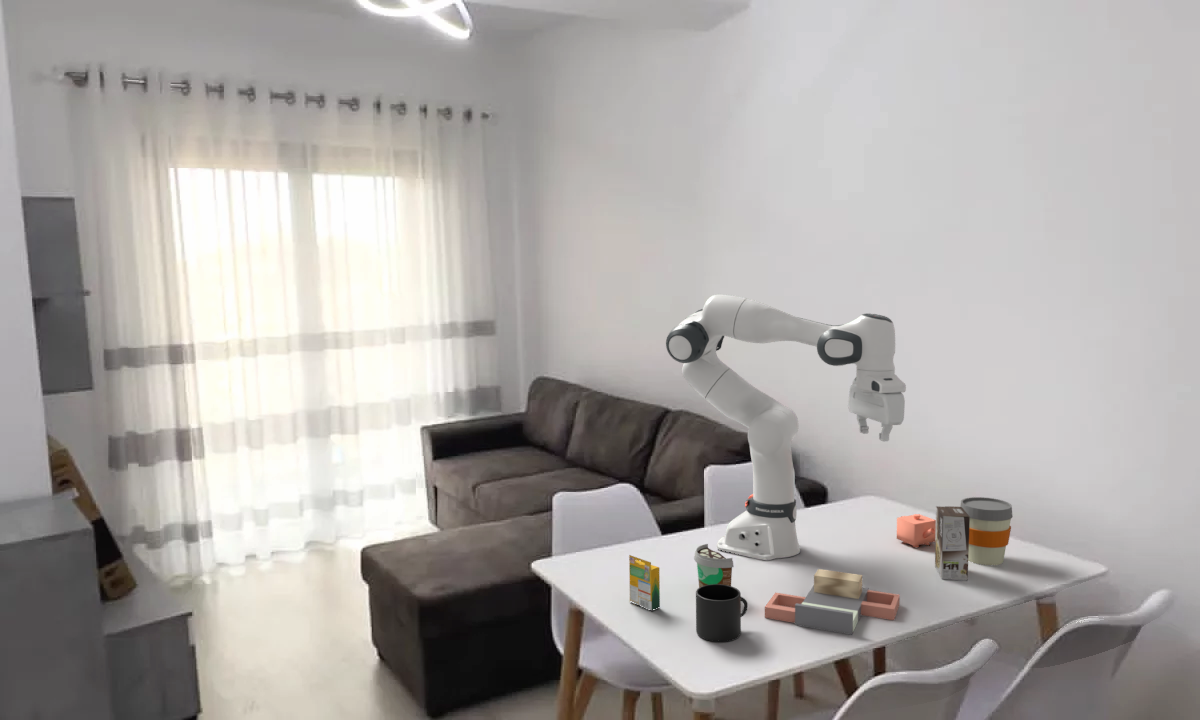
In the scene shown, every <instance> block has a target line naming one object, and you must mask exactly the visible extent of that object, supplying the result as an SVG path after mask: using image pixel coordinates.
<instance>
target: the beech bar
mask: <svg viewBox="0 0 1200 720" xmlns="http://www.w3.org/2000/svg"><path fill="white" fill-rule="evenodd" d="M813 585H814V592H817V593H823V594H830V595H836V596H843V597H849V598H856V599H859V597H860V595H861V593H862V587H863V574H857V573H851V572H850V573H849V572H841V571H835V570H830V569H829V570H828V569H820V568H818V569H817V570H816V572H815V573H814V575H813Z"/></svg>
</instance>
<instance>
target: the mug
mask: <svg viewBox="0 0 1200 720" xmlns="http://www.w3.org/2000/svg"><path fill="white" fill-rule="evenodd" d="M741 603H743V608H741V607H742V606H741V605H742V604H741ZM748 606H749V605H748V601H747V600H746V599H745V598H744V597H743V596H741V591H740V590H739V589H738V588H736V586H735V587H734V586H732V585H731V586H729V585H723V584H710V585H705V586H702V587H700V588H699V587H698V588H697V589H696V590H695V631H696V634H697V636H698V637H700V639H701V638H702V639H703V640H705V641H709V642H715V643H726V642H732V641H734V640H736V639H738V638H739V637H740V636H741V632H742V627H741V626H742V622H741V621H742V620H741V619H742V617H744V616H745V615H746V613H747V612H748V608H749V607H748ZM741 610H742V611H741Z"/></svg>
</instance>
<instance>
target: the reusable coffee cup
mask: <svg viewBox="0 0 1200 720" xmlns="http://www.w3.org/2000/svg"><path fill="white" fill-rule="evenodd" d="M959 505H960V506H959V507H962V508H963V509H964V510H965V512H966V513H967V514H968V515H969V516H970V526H969V554H968V562H970V563H972V562H973V564H975V563H976V565H980V564H981V566H988V565H990V566H991V565H994V566H1000V565H1002V564H1003V563H1004V560H1005V559H1004V558H1005V553H1006V550H1007V549H1006V548H1007V547H1008V545H1009V541H1010V536H1011V532H1012V531H1011V530H1012V526H1011V520H1012V518H1013V505H1012V504H1011V503H1010V502H1008V501H1005V500H1002V499H997V498H994V497H993V498H992V497H982V496H981V497H980V496H975V497H974V496H973V497H967V498H962V499H961V500H960V504H959Z"/></svg>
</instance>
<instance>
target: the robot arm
mask: <svg viewBox="0 0 1200 720" xmlns="http://www.w3.org/2000/svg"><path fill="white" fill-rule="evenodd" d="M725 337H729V338H731V339H735V340H738V341H740V342H741V341H742V342H745V343H750V344H770V343H776V342H785V341H786V342H796V343H801V344H805V345H809V346H811V347H816V350H817V351H816V352H817V355H818V356H819V358H820V359H821V361H823V362H824V363H825V364H826V365H829V366H833V367H843V366H846V365H851V364H852V365H853V364H854V365H855V366H856V371H855V372H856V376H855V378H854V379H853V380H852V384H851V385H850V386H849V392H848V401H847V402H848V403H847V407H848V411H849V412H850V413H852V414H854V415H856V420H857V424H858V429H859V430H858V431H859V433H861V434H864V435H865V434H869V426H868V423H867V419H870V420H872V421H875V422H879V423H881V425H880V427H881V429H882V430H881V432H879V434H878V437H879V438H878V439H879V441H882V442H889V441H890V434H891V432H892V429H893V426H901V425H902V423H903V422H904V419H905V401H906V400H905V396H904V394H903V393H905V392H906V391H907V387H906V386H907V385H906V383H905V382H904V381H903V380H902V379H900V378H899V377H898V376H897V374H895V373H896V371H895V370H896V368H895V363H894V356H895V353H896V329H895V325H894V322H893V321H892V319H890V318H889V317H888V316H886V315H880V314H876V313H862V314H860V315H859V316H858V317H857V318H855V319H853V320H851V321H849V322H847V323H844V324H843V323H842V324H838V325H832V324H827V323H823V322H818V321H814V320H811V319H808V318H807V319H806V318H801V317H798V316H796V315H792V314H790V313H787V312H785V311H783V310H779V309H777V308H775V307H773V306H771V305H768V304H765V303H764V302H760V301H757V300H755V299H751V298H747V297H743V296H739V295H738V296H737V295H732V294H731V295H730V294H721V293H720V294H719V293H718V294H713V295H711V296H710V297H709V298H707V300H706V301H705V303H704V304H703V308H701V309H698V310H697V311H696V312H694V313H692V314H690V315H688V316H687V317H685V318H684V319H683V320H682V321H681V322H679V324H677V325H676V326H674V327H673V328H672V329H671V330H670V332H669V333H668V334H667V337H666V341H665V347H666V351H667V353H668V354H669V356H670V357H671V358H672V359H673V360H674V361H675V362H678V363H679V364H680V363H681V364H683V365H682V368H681V375H682V377H683V379H684V380H685V381H686V382H687V384H688V385H690V387H691V388H692V389H693V390H694V391H695V392H696V393H697V394H698V395H699V396H700V397H701V398H703V399H704V400H705V401H706V402H708V403H709V404H710V405H711V406H712V407H714V408H715V409H716V410H717V411H719V412H720V414H722V415H724V416H725V418H728V419H730V420H733V421H735V422H737V423H739V424H741V425H743V427H746V428H747V429H748V430H747V441H748V445H749V452H750V458H751V459H750V460H751V464H752V492H753V493H752V494H750V495H749V496H748V498H747V499H746V501H745V502H744V504H745V505H744V507H745V508H746V510H745V511H744V512H741V513H740V514H739V515H737V516H736V517H734V518H733V519H731V521H730V522H729V523H728V525H727V527H726V530H725V535H724V536H722V537H720V539H718V541H717V543H716V549H717V548H718V549H719V550H718V549H717V550H718V551H720V550H722V551H721V552H725V551H726V552H725V553H729V552H731V553H730V554H734V553H735V555H738V554H739V556H744V557H749V558H751V559H752V558H753V559H758V560H762V561H770V560H774V559H781V558H782V559H783V558H790V557H793V556H796V555H798V554H799V553H800V552H801V547H800V543H799V539H798V535H797V527H796V526H797V525H796V521H797V507H798V506H797V499H796V498H795V488H796V487H795V479H796V478H795V474H796V473H795V469H794V464H793V456H792V455H793V454H792V441H793V440H794V439H795V437H796V436H797V433H798V431H799V420H798V417H797V414H796V413H795V411H794V410H793V409H792V408H790V407H789V406H786V405H784V404H782V403H781V402H779V400H776V399H775V398H774V397H772V396H770V395H769V394H767V393H766V392H765V393H764V392H763V391H761V390H760V389H758V388H756V387H755V386H753V384H751V383H750V382H748V381H747V380H745V378H743V377H742V376H741V375H740V374H738V373H737V372H736V371H734V370H733V369H732V368H731V367H729V366H728V365H727V364H726V363H724V362H723V361H722V360H721V359H720V358H719V357H718V355H717V352H718V351H719V350H721V348H722V345H723V342H724V338H725Z"/></svg>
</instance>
